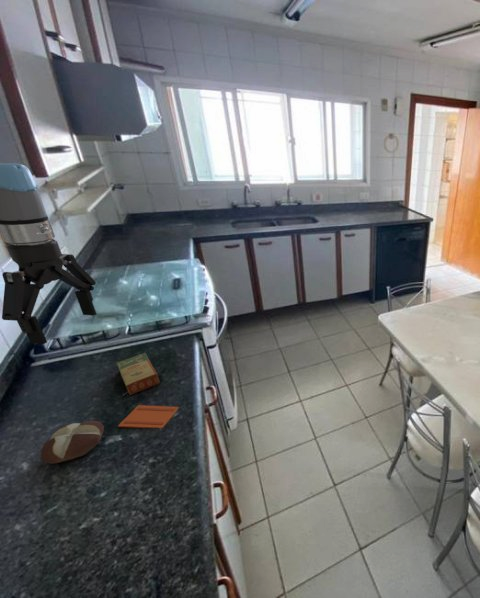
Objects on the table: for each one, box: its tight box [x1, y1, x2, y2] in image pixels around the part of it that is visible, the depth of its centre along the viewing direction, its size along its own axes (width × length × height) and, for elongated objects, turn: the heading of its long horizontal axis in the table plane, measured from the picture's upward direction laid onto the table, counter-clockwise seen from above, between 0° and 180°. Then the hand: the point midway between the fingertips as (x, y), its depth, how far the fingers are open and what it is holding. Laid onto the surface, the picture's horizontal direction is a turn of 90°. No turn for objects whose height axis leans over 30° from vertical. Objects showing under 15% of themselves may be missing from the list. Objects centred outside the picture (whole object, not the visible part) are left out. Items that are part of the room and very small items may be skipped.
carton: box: [116, 352, 161, 396], centre depth 107 cm, size 8×16×4 cm, turn 46°
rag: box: [117, 404, 179, 429], centre depth 94 cm, size 12×8×1 cm, turn 91°
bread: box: [40, 420, 105, 465], centre depth 83 cm, size 11×11×5 cm
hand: (66, 327), depth 79 cm, fingers open, 13 cm apart
